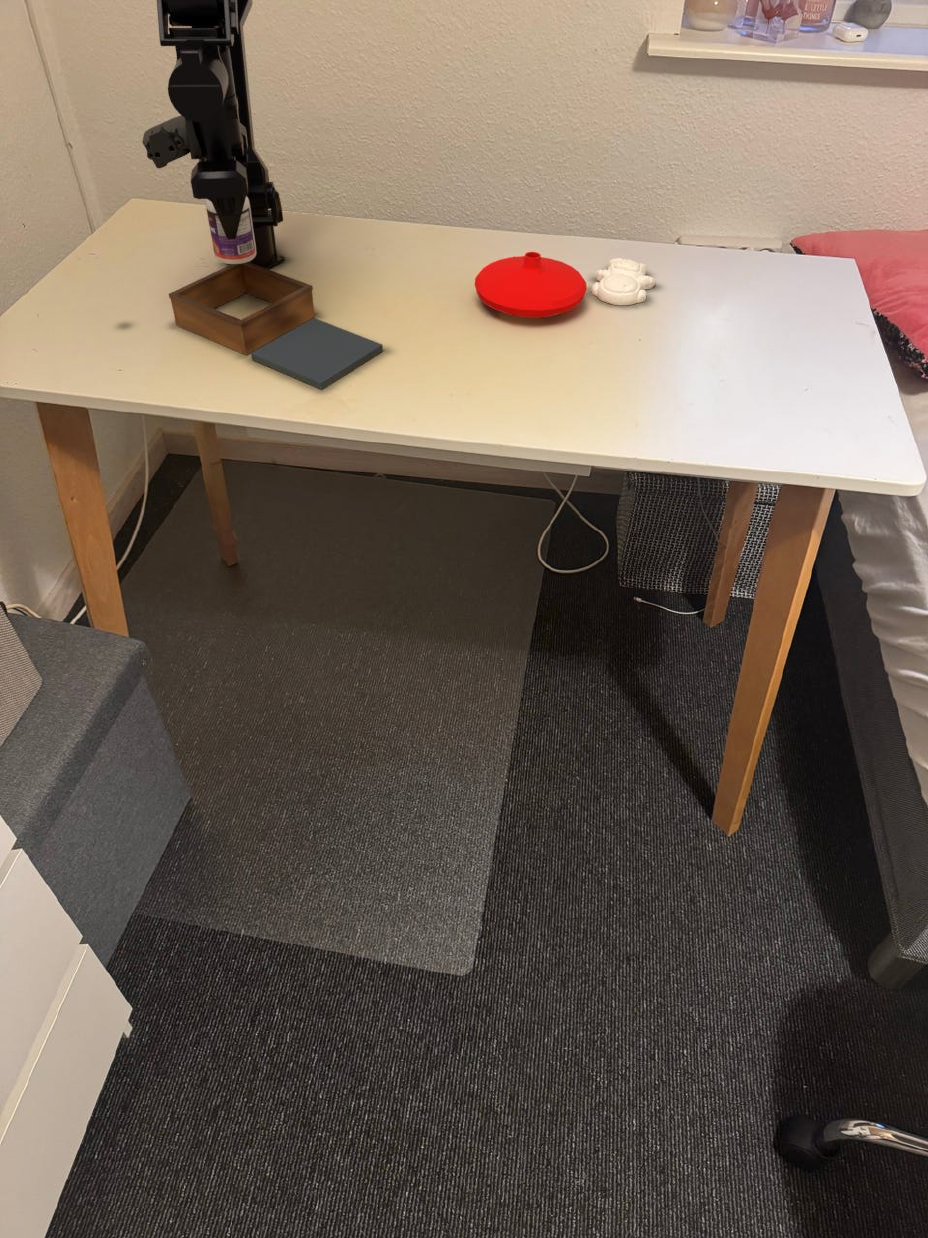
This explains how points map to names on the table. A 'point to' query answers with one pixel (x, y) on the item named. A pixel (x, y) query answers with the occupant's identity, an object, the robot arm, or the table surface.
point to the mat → (317, 353)
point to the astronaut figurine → (622, 282)
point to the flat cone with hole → (530, 286)
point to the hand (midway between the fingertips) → (231, 228)
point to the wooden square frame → (254, 330)
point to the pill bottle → (232, 249)
